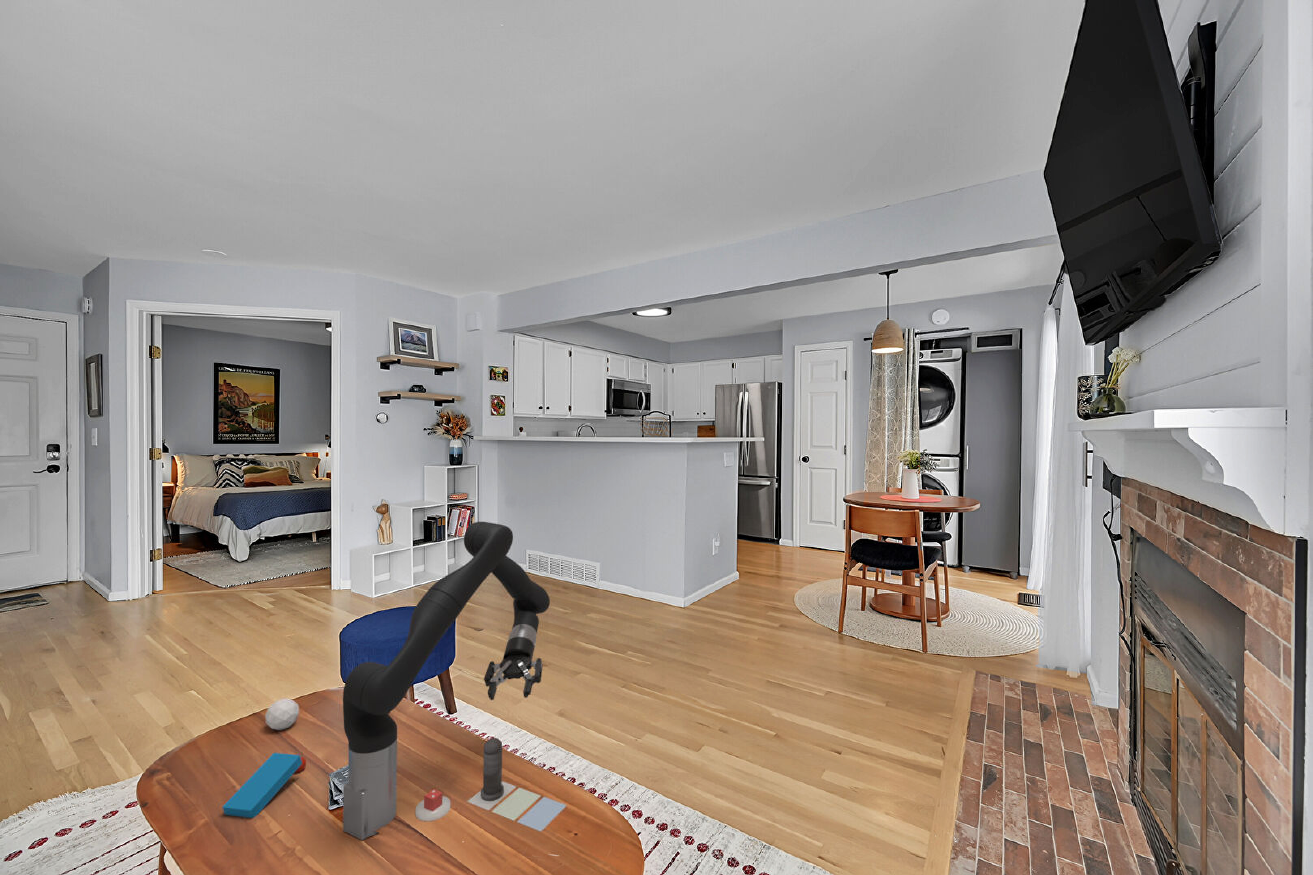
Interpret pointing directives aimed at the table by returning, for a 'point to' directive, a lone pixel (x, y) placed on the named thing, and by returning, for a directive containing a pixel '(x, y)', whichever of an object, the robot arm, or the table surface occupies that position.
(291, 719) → the geometric ball
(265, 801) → the lever
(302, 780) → the table surface
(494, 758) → the charcoal pawn
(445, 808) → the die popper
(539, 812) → the game board
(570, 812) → the table surface
